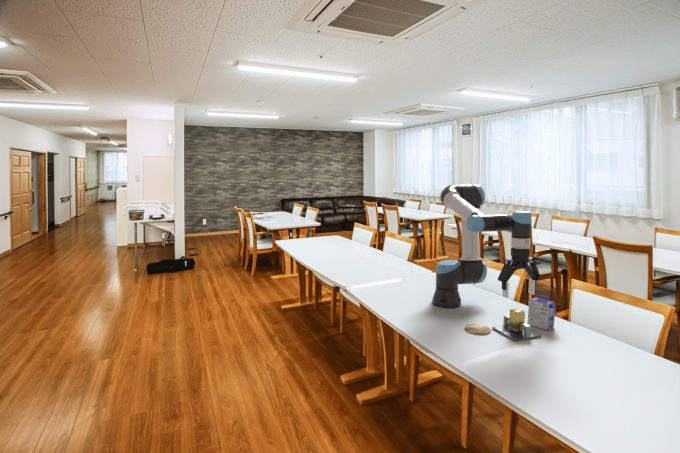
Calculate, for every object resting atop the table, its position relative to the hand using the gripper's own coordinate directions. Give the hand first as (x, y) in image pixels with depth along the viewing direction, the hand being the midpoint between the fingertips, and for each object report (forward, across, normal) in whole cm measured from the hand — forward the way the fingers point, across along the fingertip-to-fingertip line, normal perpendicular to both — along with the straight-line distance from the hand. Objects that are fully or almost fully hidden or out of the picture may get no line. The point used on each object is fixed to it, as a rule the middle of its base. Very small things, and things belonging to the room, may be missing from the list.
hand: (518, 295), depth 167 cm
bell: (+14, 0, 0) cm, 14 cm away
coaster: (+17, -14, +8) cm, 24 cm away
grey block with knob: (+17, 0, 0) cm, 17 cm away
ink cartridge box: (+17, +16, +3) cm, 24 cm away
